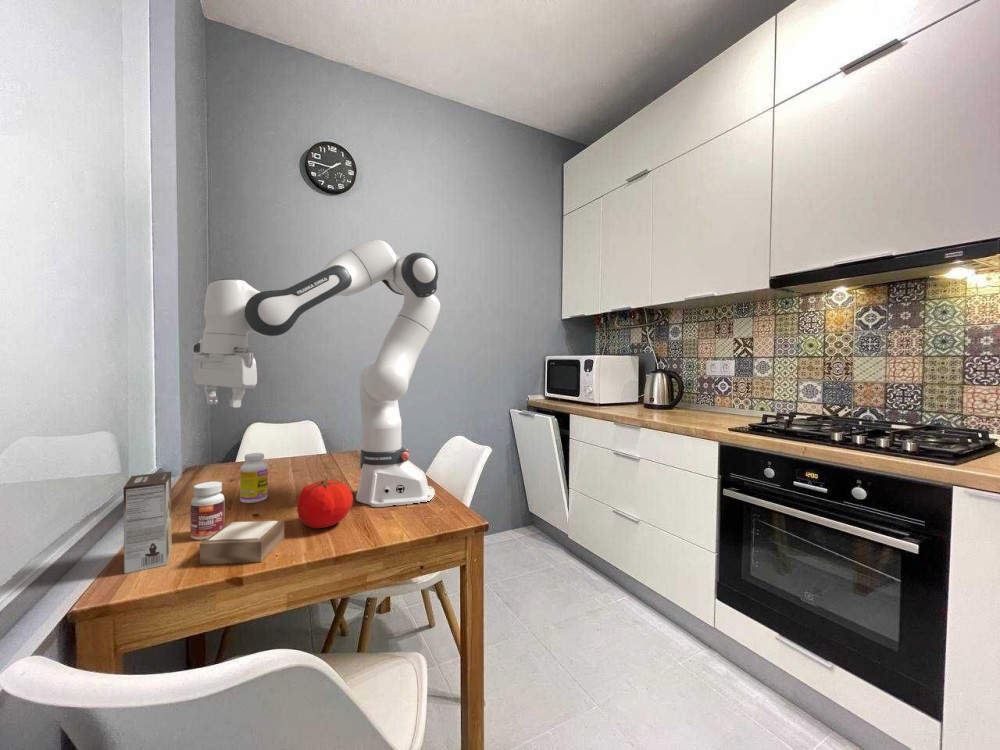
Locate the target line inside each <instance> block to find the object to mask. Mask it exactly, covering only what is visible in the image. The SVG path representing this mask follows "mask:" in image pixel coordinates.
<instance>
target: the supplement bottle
mask: <svg viewBox="0 0 1000 750" xmlns="http://www.w3.org/2000/svg"><path fill="white" fill-rule="evenodd" d="M264 459H265V454H264V453H262V452H253V453H247V454H245V455H244V463H243V464H242V465H241V466H240V469H239V470H240V475H239V479H240V480H239V481H240V482H239V500H240V502H241V503H244V504H254V503H259V502H263V501H265V500H266V499H267V498H268V492H269V491H268V488H269V487H268V485H269V484H268V483H269V482H268V480H269V478H268V477H269V475H268V474H269V473H268V472H269V471H268V470H269V465H268V464H267V462H266V461H265V462H264Z"/></svg>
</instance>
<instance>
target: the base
mask: <svg viewBox="0 0 1000 750" xmlns="http://www.w3.org/2000/svg"><path fill="white" fill-rule="evenodd" d="M284 539H285V520H258V521H255V520H254V521H253V520H251V521H230V522H228V523H227V524H226V525H224V527H223V528H221V529H220V530H219V531H217V532H216V533H214V534H213V535H212V536H210V537H209V538H207V539H204V540H202V542H200V543H199V565H200V566H201V565H225V564H226V563H229V564H244V563H245V564H246V563H247V564H248V562H253V563H262V562H263V561H264V560H265V559H266V558H267V557H268V556H269V555H270V554H271V553H270V552H273V550H275V548H276V547H277V546H278V545H279V544H280V543H281V542H283V540H284ZM269 553H270V554H269ZM268 554H269V555H268ZM267 555H268V556H267ZM266 556H267V557H266ZM265 557H266V558H265ZM264 558H265V559H264ZM263 559H264V560H263ZM262 560H263V561H262Z"/></svg>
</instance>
